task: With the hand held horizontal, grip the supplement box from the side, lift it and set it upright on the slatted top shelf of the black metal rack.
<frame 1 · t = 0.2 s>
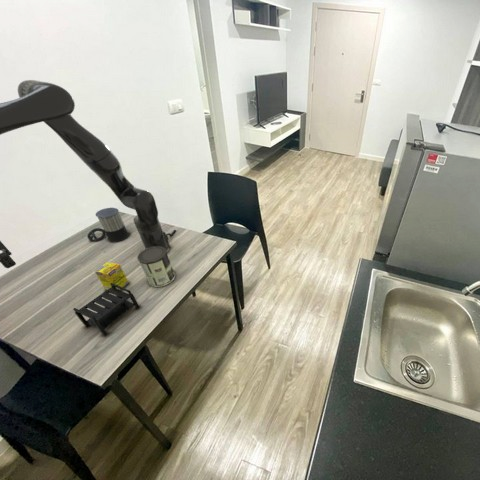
hand: (2, 262, 76), 29 cm above the table, tool pointing down, fingers open, 8 cm apart
supplement box: (118, 287, 109), on the table
milk frother: (110, 237, 134), on the table
coffee can: (162, 278, 114), on the table
rack: (113, 316, 97), on the table
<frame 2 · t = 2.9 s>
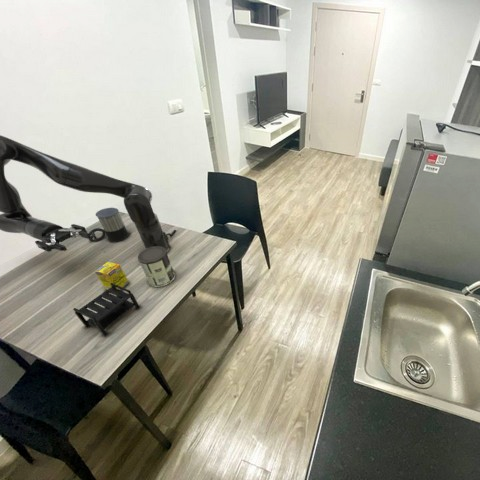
hand: (77, 242, 99), 20 cm above the table, tool horizontal, fingers open, 8 cm apart
nothing on the table moved.
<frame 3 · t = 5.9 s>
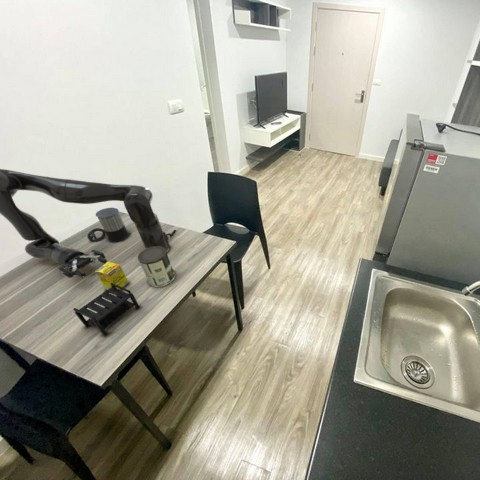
hand: (95, 268, 106), 7 cm above the table, tool horizontal, fingers open, 8 cm apart
nothing on the table moved.
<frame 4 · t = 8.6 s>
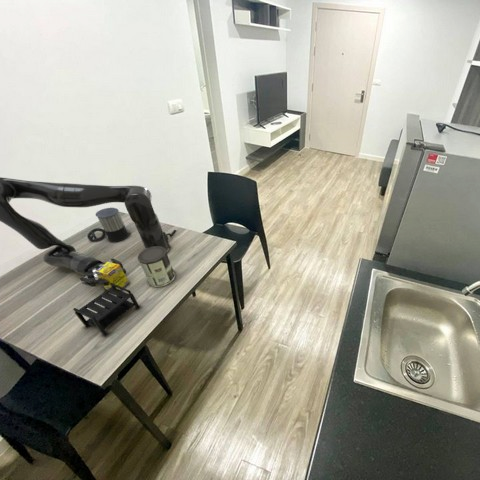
hand: (116, 277, 104), 6 cm above the table, tool horizontal, fingers closed on supplement box, 6 cm apart
supplement box: (118, 287, 109), on the table, touching gripper
everything else where it was.
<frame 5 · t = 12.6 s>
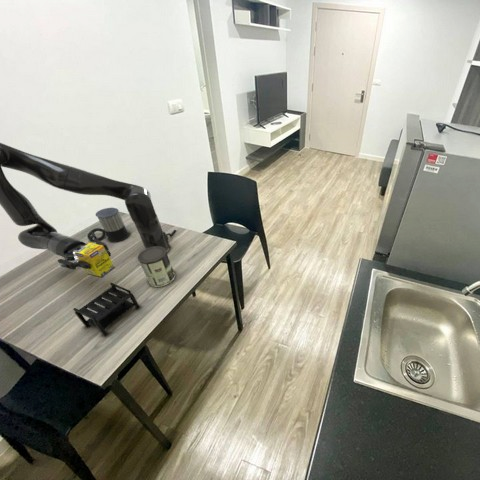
hand: (99, 260, 93), 20 cm above the table, tool horizontal, fingers closed on supplement box, 6 cm apart
supplement box: (102, 271, 97), point 13 cm above the table, touching gripper
everything else where it was.
when the fingers open (14 cm above the table, at t = 16.6 s): supplement box stays where it is, resting on rack.
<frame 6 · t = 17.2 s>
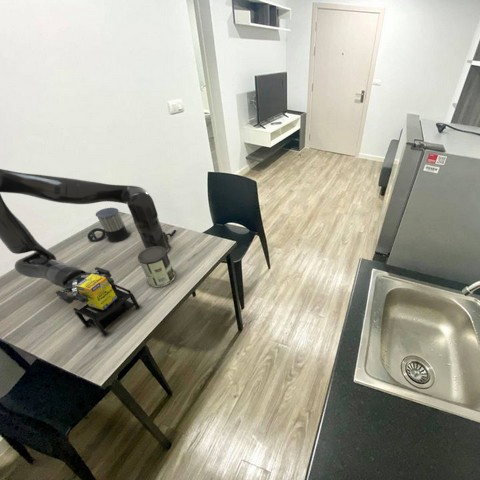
hand: (100, 290, 88), 15 cm above the table, tool horizontal, fingers open, 8 cm apart
supplement box: (104, 303, 93), point 8 cm above the table, touching rack
everything else where it was.
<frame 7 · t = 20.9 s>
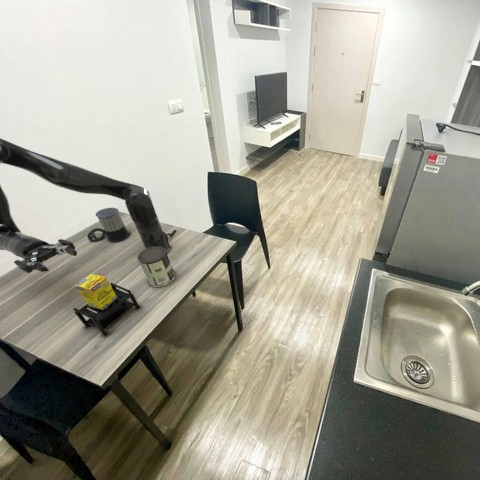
hand: (61, 261, 86), 23 cm above the table, tool horizontal, fingers open, 8 cm apart
nothing on the table moved.
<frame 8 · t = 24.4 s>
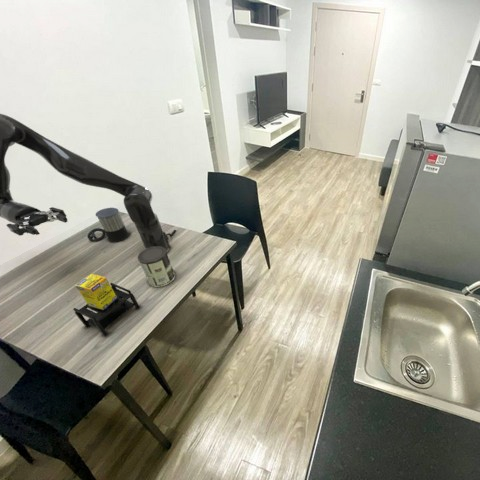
hand: (51, 225, 90), 30 cm above the table, tool horizontal, fingers open, 8 cm apart
nothing on the table moved.
at the end: supplement box inside the target area on the rack (0.1 cm from its centre), point 7.8 cm above the rack's base; supplement box tilted 0°; the gripper is holding nothing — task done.
